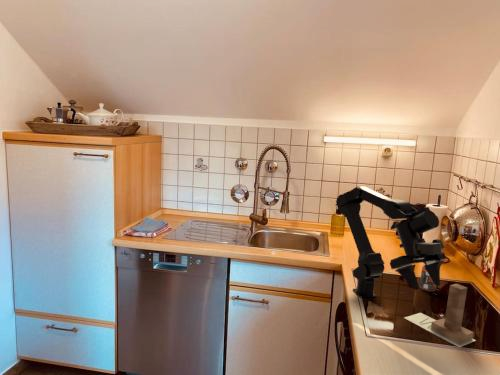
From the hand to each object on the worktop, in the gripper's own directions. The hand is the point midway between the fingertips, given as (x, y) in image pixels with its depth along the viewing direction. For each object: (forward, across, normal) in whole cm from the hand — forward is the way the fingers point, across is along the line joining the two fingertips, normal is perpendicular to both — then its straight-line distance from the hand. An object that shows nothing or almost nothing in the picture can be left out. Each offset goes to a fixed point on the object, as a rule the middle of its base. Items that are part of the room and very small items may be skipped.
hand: (428, 287), depth 116 cm
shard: (+4, -8, +18) cm, 20 cm away
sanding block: (+14, +2, 0) cm, 14 cm away
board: (+13, +2, +4) cm, 14 cm away
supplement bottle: (-1, +28, +24) cm, 37 cm away
